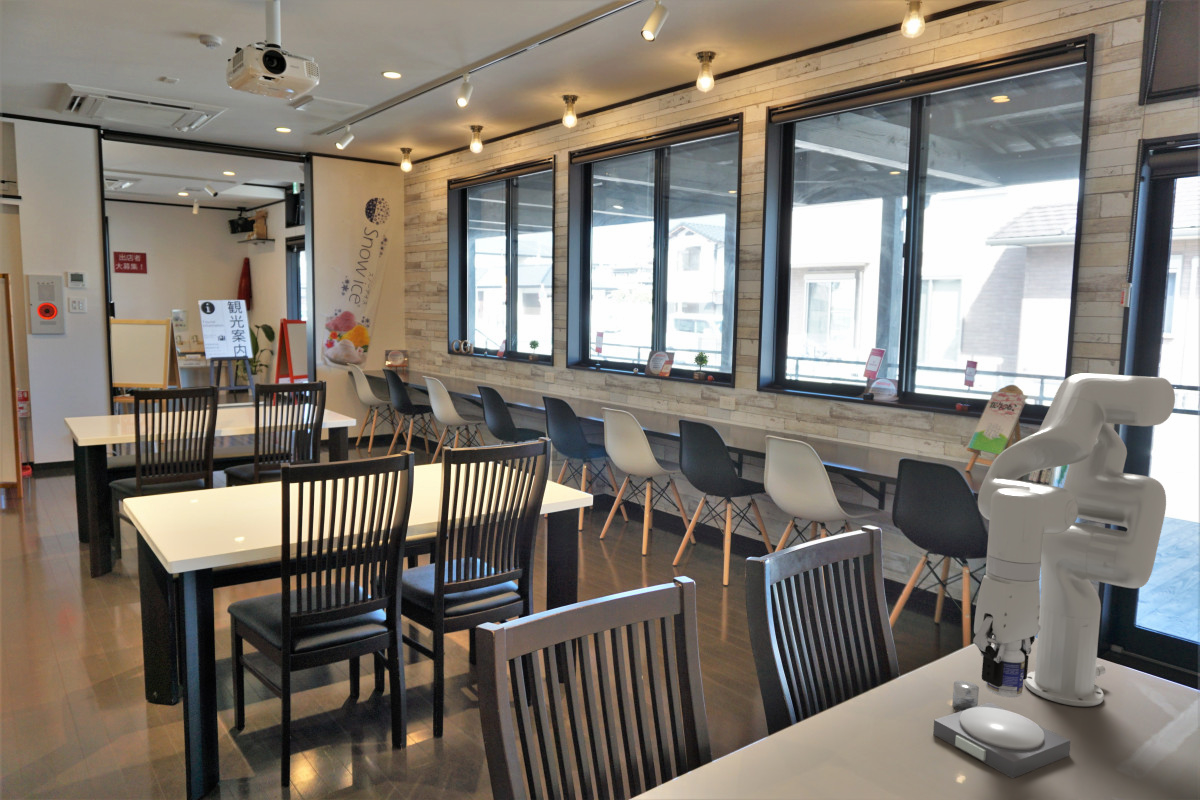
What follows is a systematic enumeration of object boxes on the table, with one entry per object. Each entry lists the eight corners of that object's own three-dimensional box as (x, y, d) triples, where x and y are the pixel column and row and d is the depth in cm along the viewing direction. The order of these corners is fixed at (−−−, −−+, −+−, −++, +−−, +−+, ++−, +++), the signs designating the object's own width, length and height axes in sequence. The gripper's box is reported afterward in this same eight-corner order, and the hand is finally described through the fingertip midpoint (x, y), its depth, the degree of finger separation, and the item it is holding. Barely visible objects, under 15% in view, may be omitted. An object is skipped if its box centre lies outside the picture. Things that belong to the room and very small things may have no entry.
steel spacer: (962, 700, 143) (963, 678, 142) (982, 710, 139) (983, 688, 139) (947, 704, 141) (948, 683, 140) (967, 714, 137) (968, 692, 137)
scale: (988, 715, 137) (990, 697, 137) (1069, 755, 125) (1070, 735, 124) (931, 735, 130) (932, 715, 130) (1010, 779, 118) (1011, 757, 117)
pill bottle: (1026, 700, 123) (1031, 644, 122) (990, 696, 124) (994, 641, 124) (1016, 685, 128) (1020, 632, 128) (981, 681, 130) (985, 628, 129)
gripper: (1024, 555, 132) (1016, 661, 134) (955, 568, 124) (947, 680, 126) (1069, 568, 125) (1060, 679, 127) (999, 582, 117) (990, 700, 119)
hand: (1004, 678), depth 126 cm, fingers closed on pill bottle, 5 cm apart
